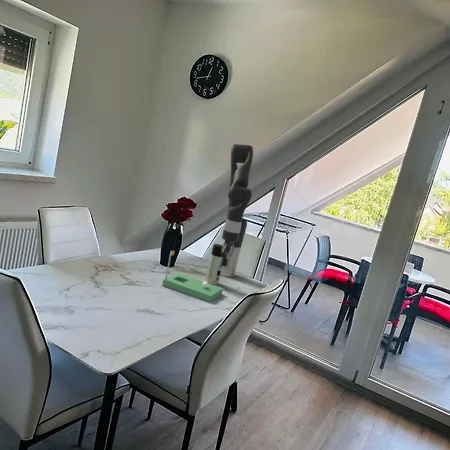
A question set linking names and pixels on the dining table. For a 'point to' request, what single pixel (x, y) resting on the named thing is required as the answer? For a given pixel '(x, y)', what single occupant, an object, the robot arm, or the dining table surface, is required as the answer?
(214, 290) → the putting green
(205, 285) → the ball
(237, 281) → the dining table surface
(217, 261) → the spray can
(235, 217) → the robot arm
